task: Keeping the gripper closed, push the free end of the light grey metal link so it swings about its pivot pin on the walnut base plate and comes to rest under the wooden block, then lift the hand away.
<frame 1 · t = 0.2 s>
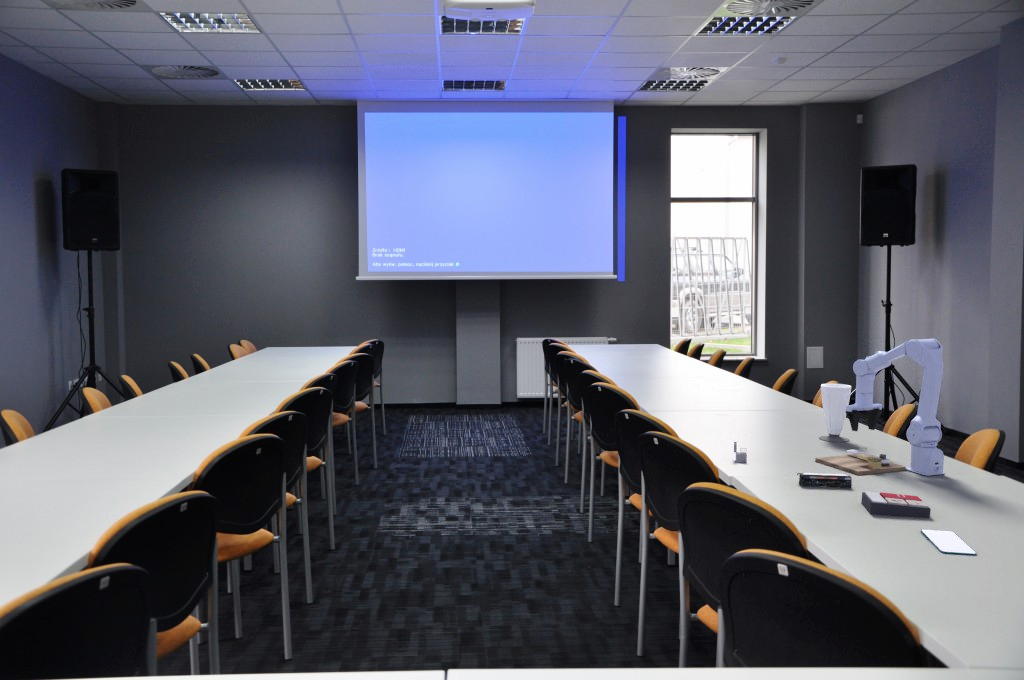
hand: (863, 430, 283), 9 cm above the table, tool pointing down, fingers open, 7 cm apart
smartphone: (947, 545, 190), on the table
cup: (833, 439, 311), on the table
grey link: (868, 457, 271), point 2 cm above the table, hinge at 0.0°
base plate: (859, 465, 268), on the table
bus: (832, 489, 241), on the table
dark grey box: (894, 512, 217), on the table
architectural model: (747, 460, 278), on the table
wooden block: (869, 461, 261), point 3 cm above the table
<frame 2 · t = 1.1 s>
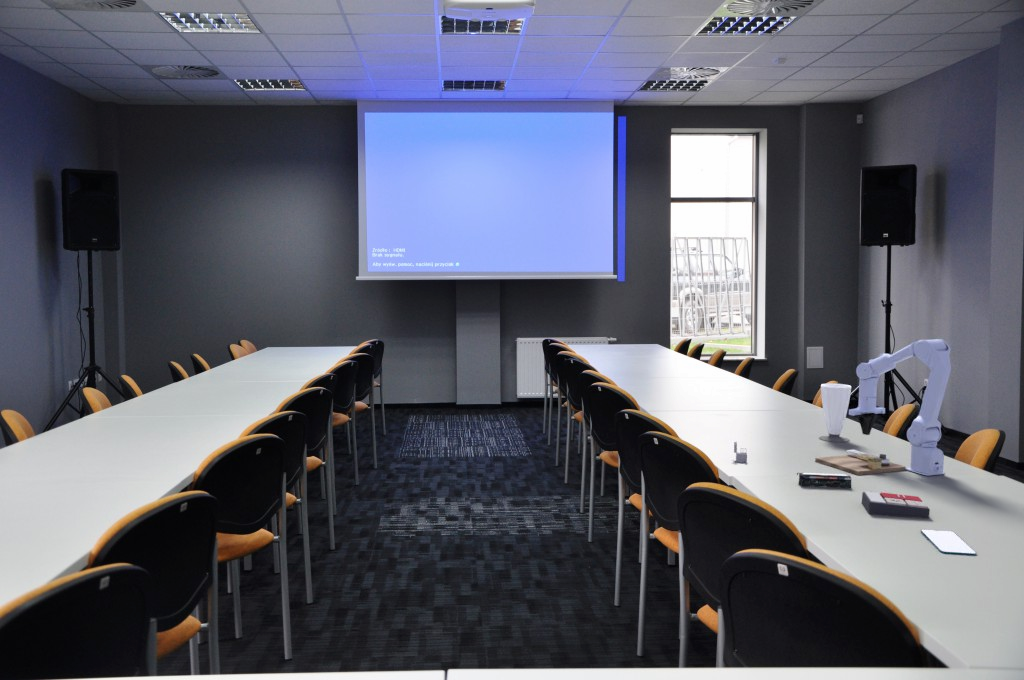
hand: (866, 434, 279), 8 cm above the table, tool pointing down, fingers closed
nothing on the table moved.
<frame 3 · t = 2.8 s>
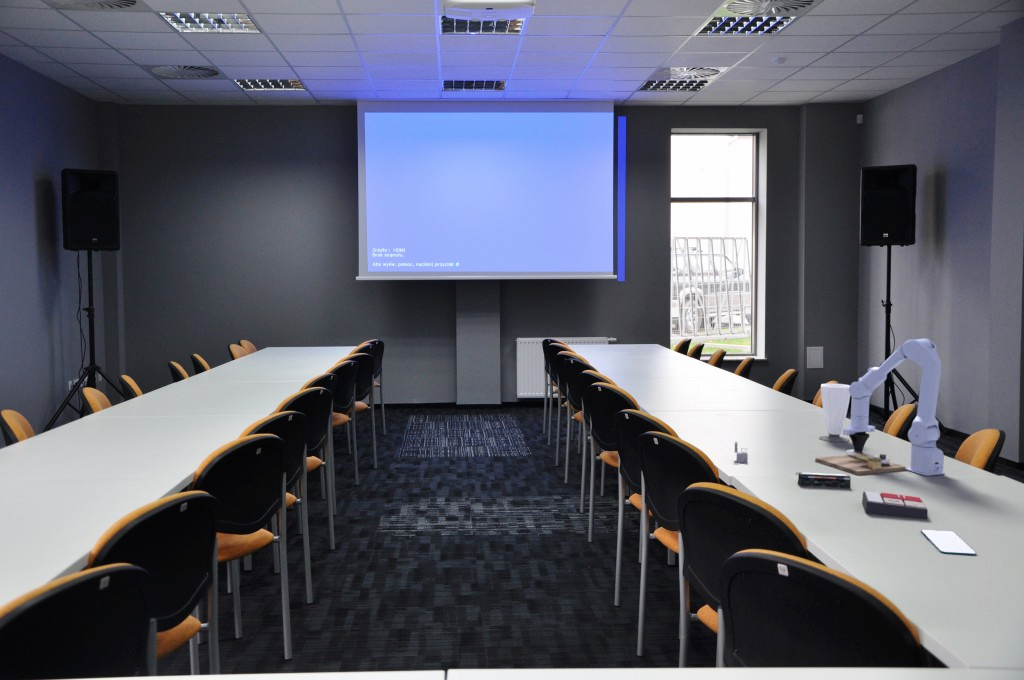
hand: (858, 453, 278), 2 cm above the table, tool pointing down, fingers closed
grey link: (868, 457, 271), point 2 cm above the table, hinge at 0.3°, touching gripper
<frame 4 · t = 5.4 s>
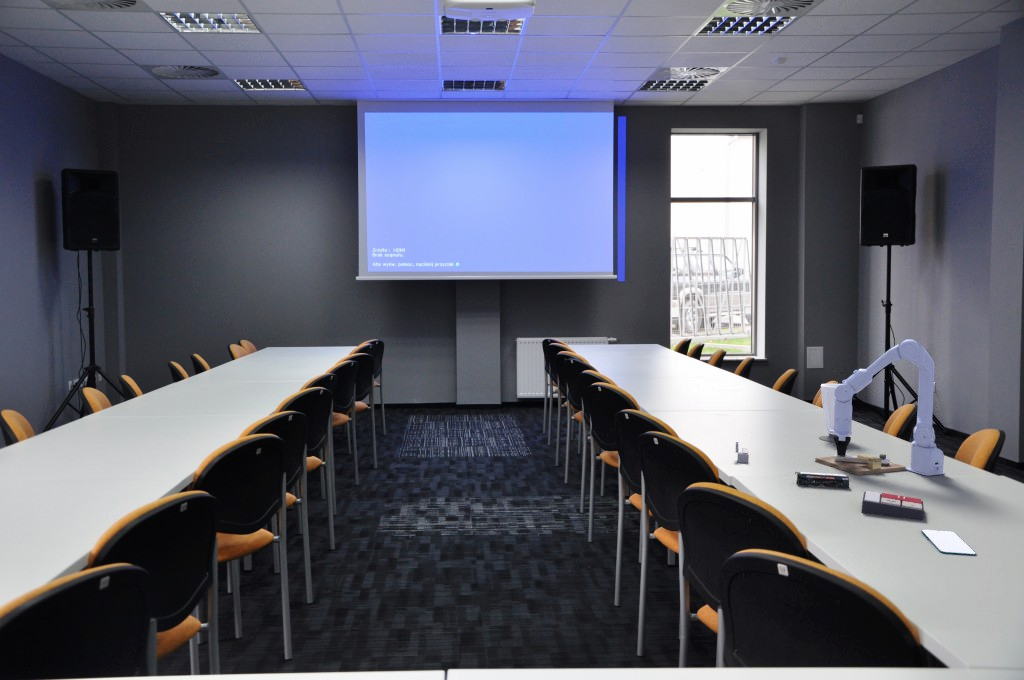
hand: (841, 457, 271), 2 cm above the table, tool pointing down, fingers closed
grey link: (861, 459, 267), point 2 cm above the table, hinge at 49.1°, touching gripper
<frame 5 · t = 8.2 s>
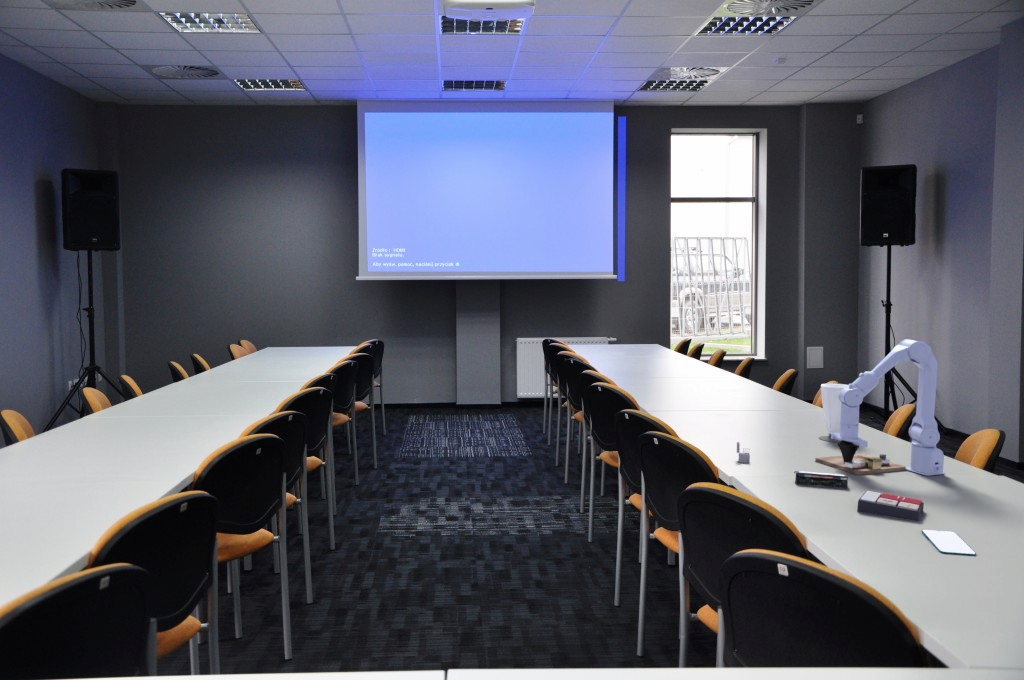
hand: (847, 464, 262), 2 cm above the table, tool pointing down, fingers closed
grey link: (868, 463, 262), point 2 cm above the table, hinge at 92.3°, touching gripper
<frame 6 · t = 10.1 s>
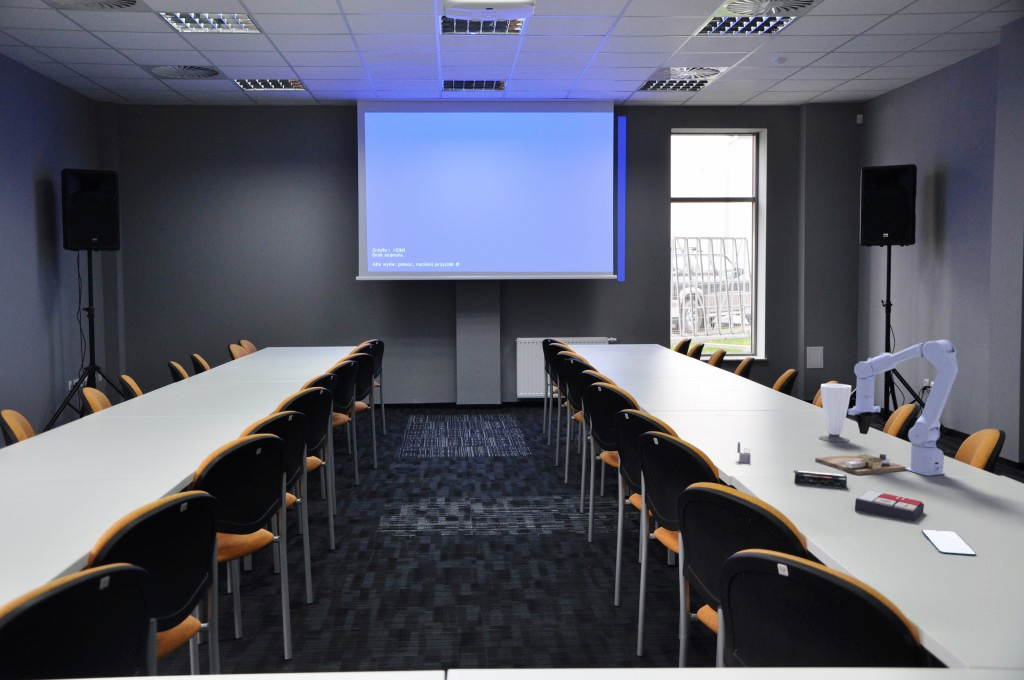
hand: (863, 433, 275), 9 cm above the table, tool pointing down, fingers closed
grey link: (868, 463, 262), point 2 cm above the table, hinge at 92.5°
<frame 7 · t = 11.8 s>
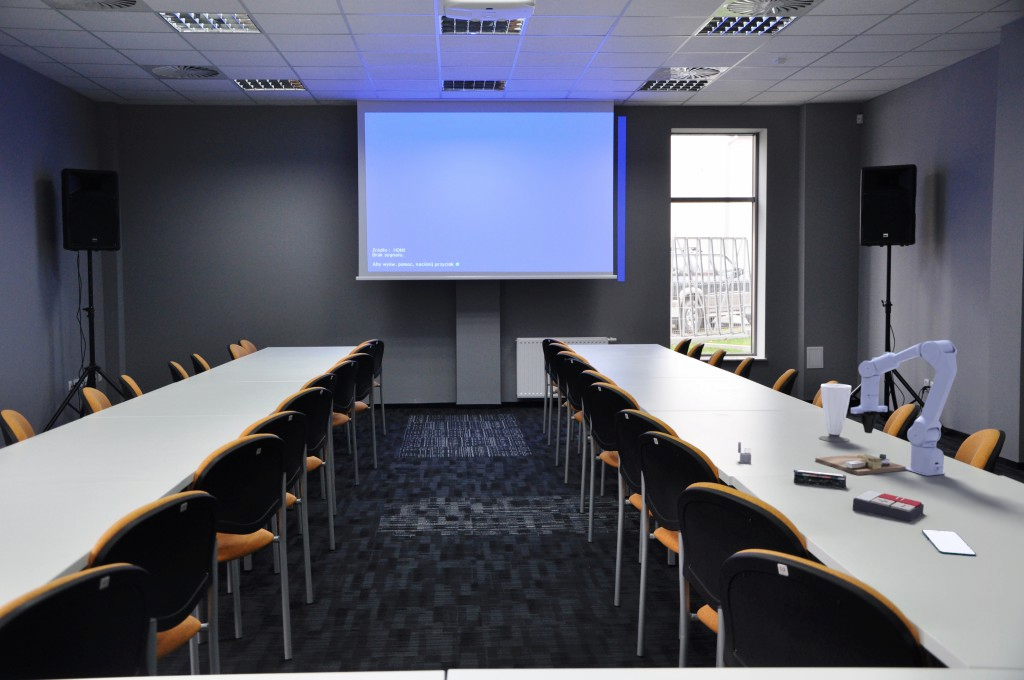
hand: (868, 432, 277), 9 cm above the table, tool pointing down, fingers closed
at the end: grey link at +92° (first picture: +0°) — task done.
